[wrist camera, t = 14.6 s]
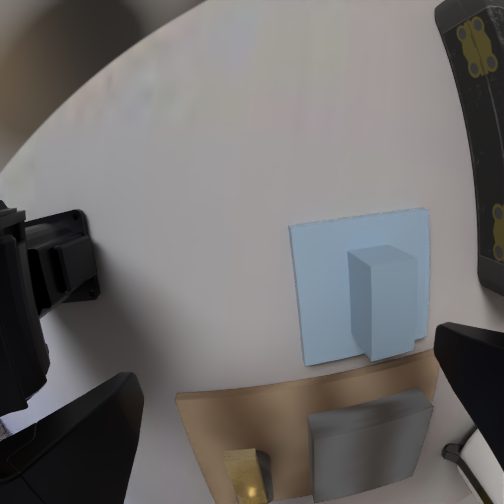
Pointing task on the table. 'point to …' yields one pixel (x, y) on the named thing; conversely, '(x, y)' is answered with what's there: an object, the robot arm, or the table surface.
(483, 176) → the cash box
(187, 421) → the latch base
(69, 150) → the table surface
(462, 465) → the coffee press
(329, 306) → the lid
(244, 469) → the quarter turn key
